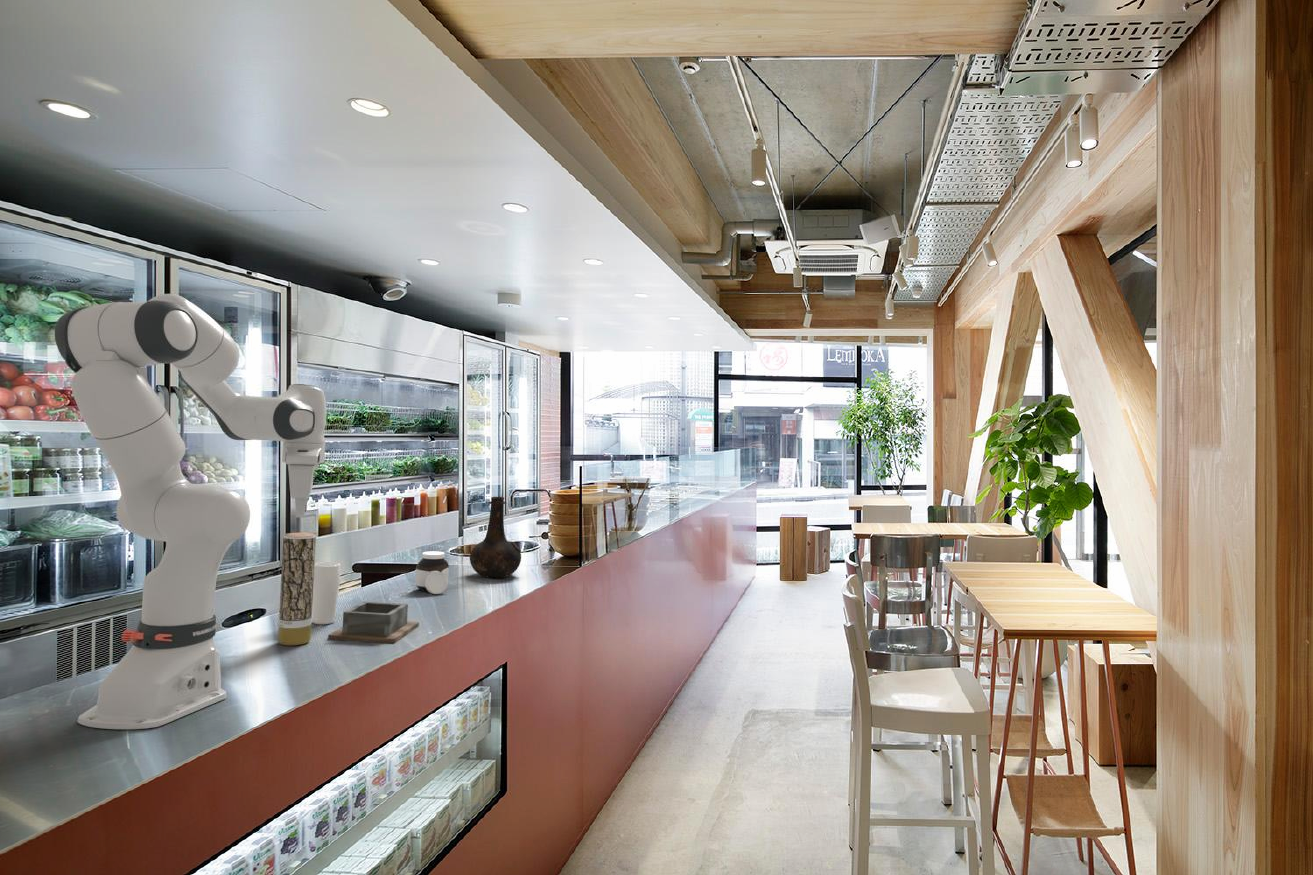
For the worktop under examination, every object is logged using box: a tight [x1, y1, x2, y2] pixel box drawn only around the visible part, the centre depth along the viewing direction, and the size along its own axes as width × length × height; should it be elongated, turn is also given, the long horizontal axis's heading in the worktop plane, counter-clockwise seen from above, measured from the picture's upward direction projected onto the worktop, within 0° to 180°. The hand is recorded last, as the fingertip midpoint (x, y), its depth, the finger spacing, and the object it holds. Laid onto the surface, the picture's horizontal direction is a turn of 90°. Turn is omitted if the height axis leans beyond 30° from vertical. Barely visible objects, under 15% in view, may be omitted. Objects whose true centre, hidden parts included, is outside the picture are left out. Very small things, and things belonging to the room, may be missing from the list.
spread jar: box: [414, 550, 450, 595], centre depth 229 cm, size 12×11×12 cm
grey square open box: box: [327, 601, 420, 644], centre depth 180 cm, size 16×16×6 cm
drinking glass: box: [312, 561, 342, 626], centre depth 187 cm, size 7×7×15 cm
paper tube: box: [277, 532, 317, 647], centre depth 169 cm, size 7×7×25 cm
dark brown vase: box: [469, 496, 522, 579], centre depth 258 cm, size 18×18×28 cm
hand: (301, 514), depth 169 cm, fingers open, 8 cm apart
